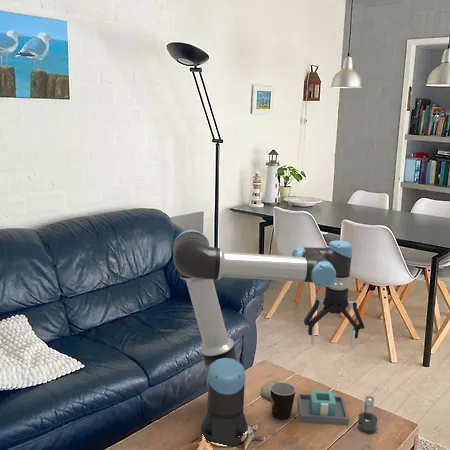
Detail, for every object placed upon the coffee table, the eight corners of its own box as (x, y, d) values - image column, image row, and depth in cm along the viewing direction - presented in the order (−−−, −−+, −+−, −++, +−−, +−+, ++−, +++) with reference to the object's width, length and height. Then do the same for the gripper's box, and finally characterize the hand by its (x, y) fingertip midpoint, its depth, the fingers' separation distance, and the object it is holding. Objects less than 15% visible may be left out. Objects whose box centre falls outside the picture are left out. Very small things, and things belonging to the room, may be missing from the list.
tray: (300, 421, 179) (300, 415, 178) (297, 399, 192) (297, 393, 192) (348, 425, 178) (348, 418, 177) (342, 402, 191) (342, 396, 191)
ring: (309, 402, 189) (310, 390, 188) (331, 404, 188) (333, 391, 187) (311, 417, 180) (312, 404, 179) (335, 419, 179) (336, 405, 178)
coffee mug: (292, 423, 177) (294, 396, 175) (267, 420, 179) (268, 393, 177) (295, 405, 188) (297, 379, 186) (271, 401, 190) (272, 376, 188)
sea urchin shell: (286, 384, 199) (286, 378, 192) (284, 405, 195) (285, 400, 188) (262, 381, 200) (261, 375, 193) (260, 402, 196) (259, 397, 189)
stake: (359, 433, 174) (362, 402, 171) (356, 422, 179) (359, 393, 177) (377, 434, 173) (381, 404, 171) (374, 423, 179) (377, 394, 177)
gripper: (300, 288, 175) (296, 347, 180) (377, 292, 173) (370, 352, 178) (299, 280, 182) (295, 337, 187) (372, 285, 180) (366, 342, 185)
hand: (331, 345), depth 182 cm, fingers open, 13 cm apart
